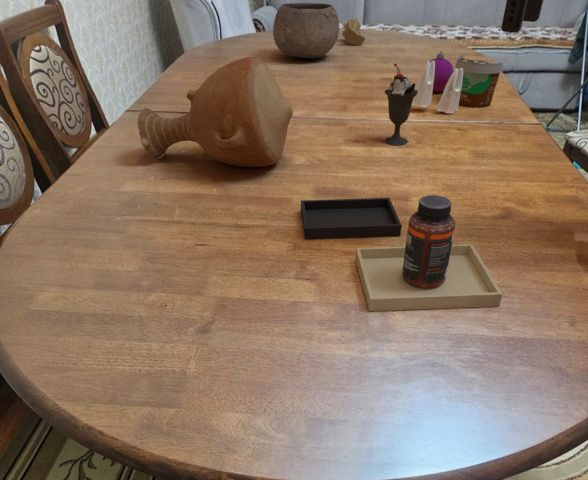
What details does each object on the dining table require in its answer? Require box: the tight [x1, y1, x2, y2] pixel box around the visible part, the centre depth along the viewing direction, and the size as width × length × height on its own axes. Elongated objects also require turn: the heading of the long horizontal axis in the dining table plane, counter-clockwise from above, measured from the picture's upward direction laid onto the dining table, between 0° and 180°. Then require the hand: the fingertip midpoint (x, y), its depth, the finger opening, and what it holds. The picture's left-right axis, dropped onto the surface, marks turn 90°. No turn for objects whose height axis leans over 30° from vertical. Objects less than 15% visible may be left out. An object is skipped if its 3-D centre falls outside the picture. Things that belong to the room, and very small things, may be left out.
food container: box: [454, 54, 504, 109], centre depth 135 cm, size 12×6×10 cm, turn 40°
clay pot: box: [272, 2, 340, 59], centre depth 173 cm, size 21×21×15 cm
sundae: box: [384, 63, 418, 146], centre depth 113 cm, size 7×7×15 cm
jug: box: [137, 56, 294, 168], centre depth 104 cm, size 20×19×30 cm
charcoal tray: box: [300, 197, 403, 240], centre depth 88 cm, size 15×10×2 cm, turn 93°
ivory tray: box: [354, 243, 503, 312], centre depth 75 cm, size 17×13×2 cm
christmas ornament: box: [429, 49, 455, 93], centre depth 144 cm, size 8×8×10 cm
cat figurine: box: [342, 18, 366, 46], centre depth 193 cm, size 8×7×12 cm
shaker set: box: [411, 60, 463, 114], centre depth 130 cm, size 12×4×11 cm, turn 77°
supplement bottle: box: [402, 194, 456, 288], centre depth 72 cm, size 6×6×11 cm
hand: (520, 26), depth 69 cm, fingers open, 8 cm apart
